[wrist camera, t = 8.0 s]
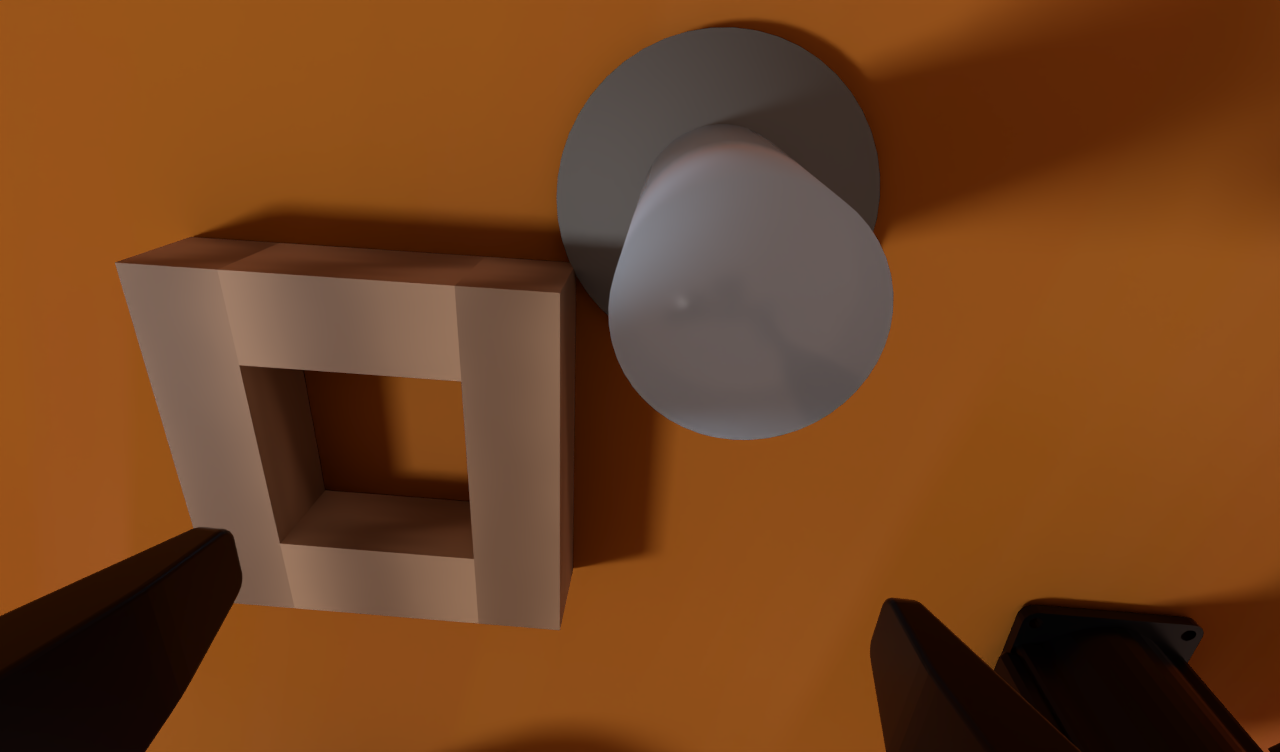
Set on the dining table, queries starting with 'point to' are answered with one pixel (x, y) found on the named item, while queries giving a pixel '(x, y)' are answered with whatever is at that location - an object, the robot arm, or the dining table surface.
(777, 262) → the grey rounded cylinder
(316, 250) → the frame
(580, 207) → the coaster
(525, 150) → the dining table surface
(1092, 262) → the dining table surface
